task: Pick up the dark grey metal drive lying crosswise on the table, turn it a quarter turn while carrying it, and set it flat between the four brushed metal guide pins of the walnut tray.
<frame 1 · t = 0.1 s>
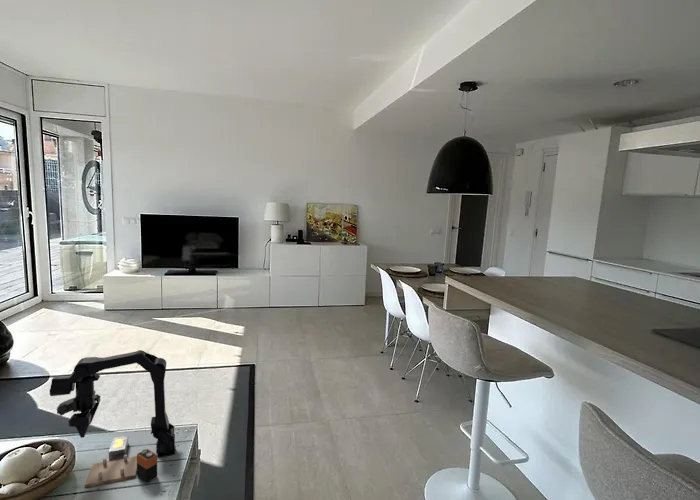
hand: (85, 430, 147), 15 cm above the table, tool pointing down, fingers open, 9 cm apart
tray: (113, 471, 146), on the table
drive: (118, 452, 158), on the table
battery: (147, 477, 144), on the table
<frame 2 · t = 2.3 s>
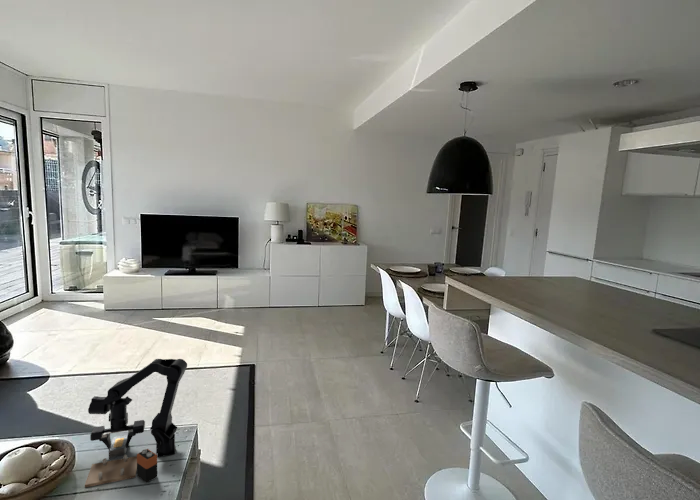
hand: (118, 449, 158), 1 cm above the table, tool pointing down, fingers closed on drive, 5 cm apart
drive: (118, 451, 158), on the table, touching gripper
everything else where it was.
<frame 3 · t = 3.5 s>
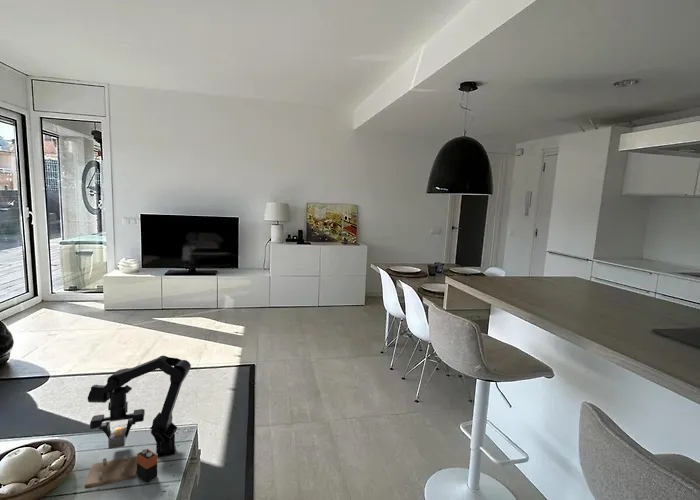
hand: (118, 438, 157), 6 cm above the table, tool pointing down, fingers closed on drive, 5 cm apart
drive: (118, 440, 157), point 5 cm above the table, touching gripper
everything else where it was.
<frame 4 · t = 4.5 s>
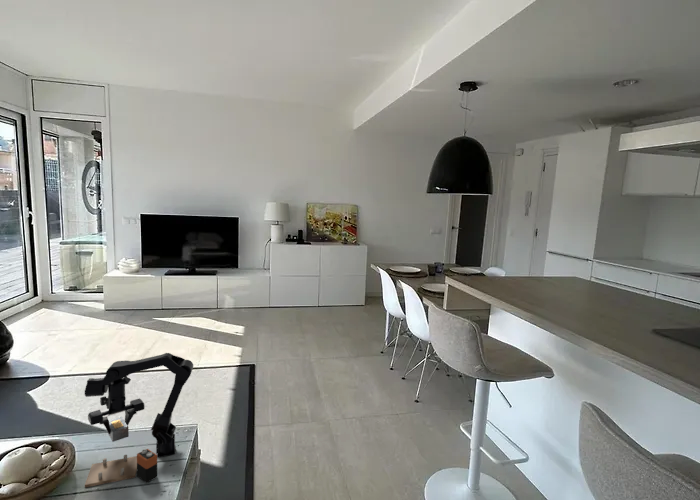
hand: (117, 431, 154), 11 cm above the table, tool pointing down, fingers closed on drive, 5 cm apart
drive: (117, 433, 154), point 10 cm above the table, touching gripper
everything else where it was.
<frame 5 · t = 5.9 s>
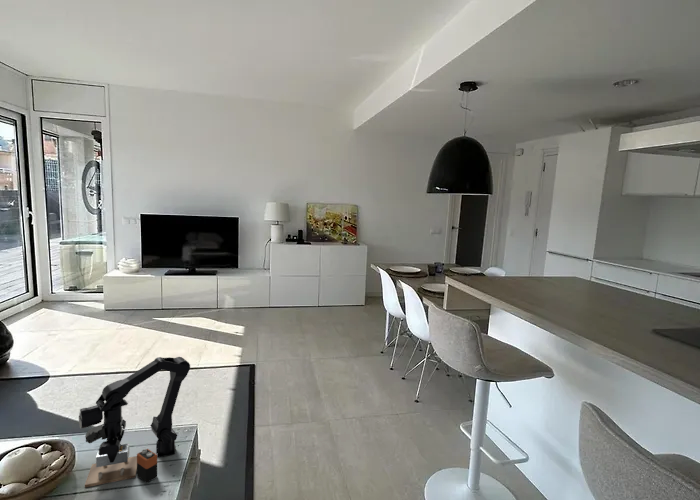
hand: (113, 457, 145), 6 cm above the table, tool pointing down, fingers closed on drive, 5 cm apart
drive: (113, 459, 146), point 5 cm above the table, touching gripper
everything else where it was.
when the fingers open (3 cm above the table, at t = 6.9 s): drive stays where it is, resting on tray.
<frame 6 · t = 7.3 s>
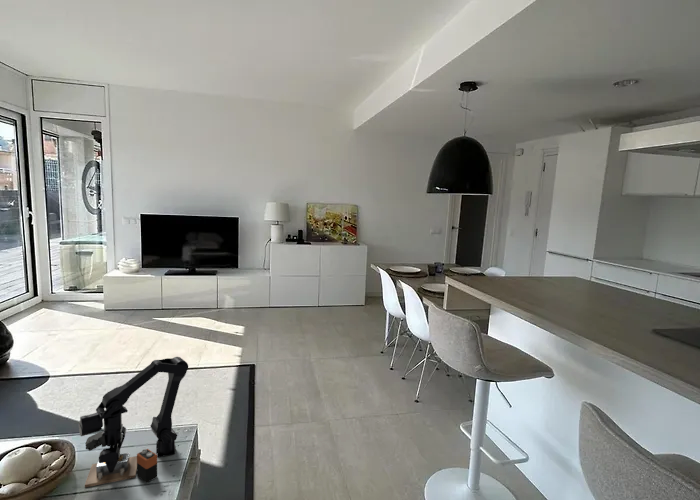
hand: (113, 464, 146), 3 cm above the table, tool pointing down, fingers open, 9 cm apart
drive: (113, 469, 146), point 1 cm above the table, touching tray
everything else where it was.
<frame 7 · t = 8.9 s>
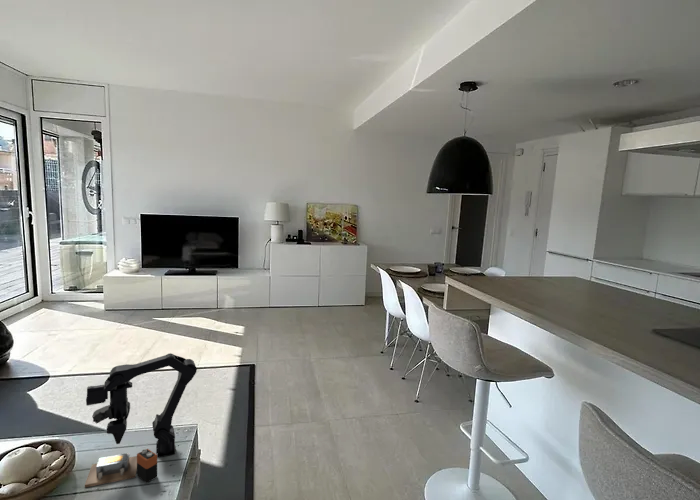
hand: (119, 437, 150), 11 cm above the table, tool pointing down, fingers open, 9 cm apart
nothing on the table moved.
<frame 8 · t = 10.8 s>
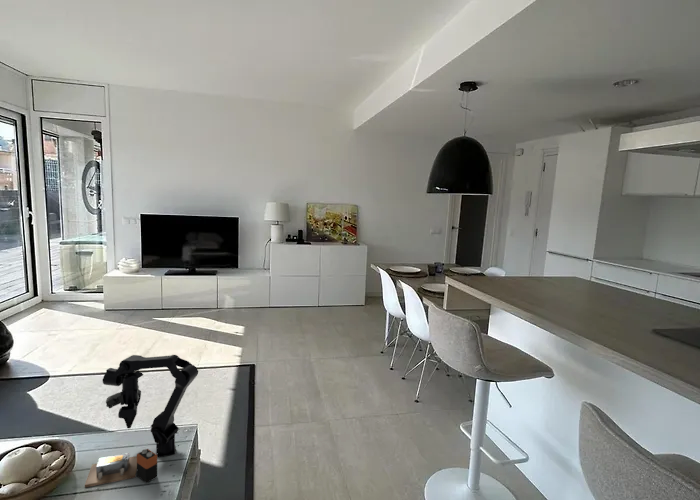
hand: (130, 422, 160), 11 cm above the table, tool pointing down, fingers open, 9 cm apart
nothing on the table moved.
at the end: drive 0.0 cm off-centre on the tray, point 1.0 cm above the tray's base; drive tilted 0°; the gripper is holding nothing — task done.
